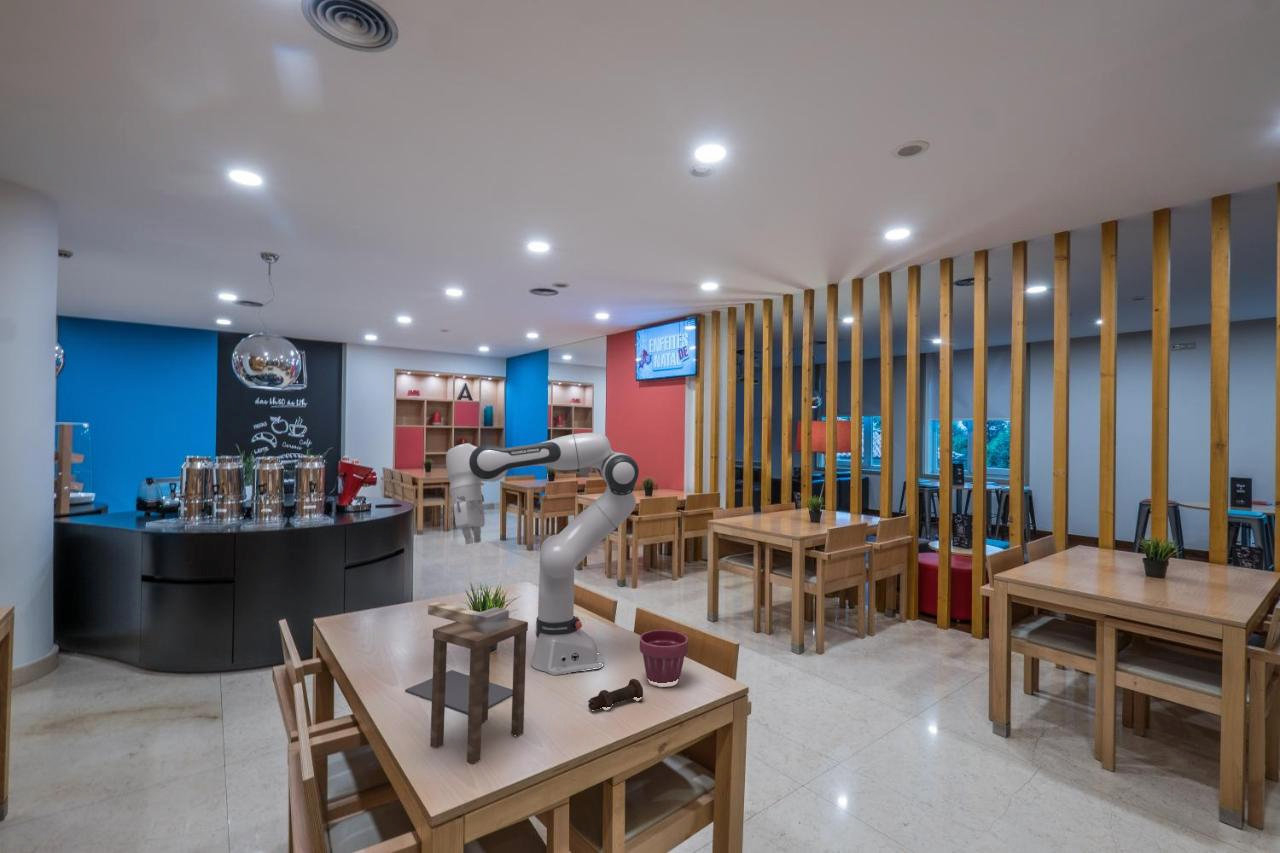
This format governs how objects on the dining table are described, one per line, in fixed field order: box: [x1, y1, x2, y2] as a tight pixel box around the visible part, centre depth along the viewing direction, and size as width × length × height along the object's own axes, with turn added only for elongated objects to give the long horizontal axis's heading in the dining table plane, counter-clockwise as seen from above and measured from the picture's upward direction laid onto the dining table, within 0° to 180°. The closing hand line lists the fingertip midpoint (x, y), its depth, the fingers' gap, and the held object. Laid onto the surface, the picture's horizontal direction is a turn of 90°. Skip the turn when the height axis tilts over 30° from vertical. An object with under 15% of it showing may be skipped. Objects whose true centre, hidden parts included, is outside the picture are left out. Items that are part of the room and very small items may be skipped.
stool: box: [429, 617, 529, 765], centre depth 131 cm, size 14×16×26 cm
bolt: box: [587, 678, 644, 711], centre depth 149 cm, size 6×5×15 cm
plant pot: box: [639, 629, 689, 683], centre depth 165 cm, size 14×14×13 cm
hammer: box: [427, 601, 510, 634], centre depth 134 cm, size 22×7×4 cm, turn 60°
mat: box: [404, 669, 513, 716], centre depth 155 cm, size 26×16×1 cm, turn 60°
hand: (474, 543), depth 169 cm, fingers open, 8 cm apart
